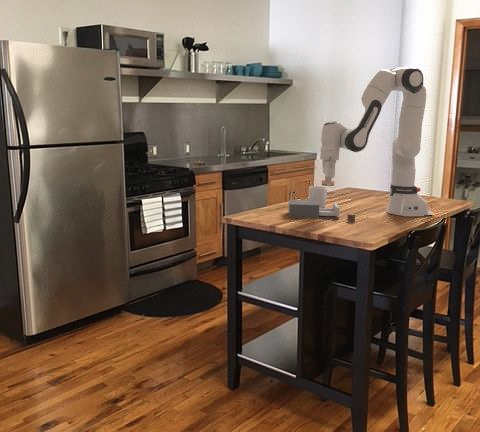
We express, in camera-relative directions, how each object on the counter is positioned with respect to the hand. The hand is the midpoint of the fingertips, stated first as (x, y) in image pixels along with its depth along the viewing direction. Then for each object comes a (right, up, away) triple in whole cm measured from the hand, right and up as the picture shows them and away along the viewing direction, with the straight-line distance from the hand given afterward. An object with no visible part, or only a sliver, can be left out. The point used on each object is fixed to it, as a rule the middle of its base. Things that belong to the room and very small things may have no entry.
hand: (327, 184), depth 259 cm
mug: (-1, -11, +23) cm, 25 cm away
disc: (0, 0, 0) cm, 0 cm away
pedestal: (+9, -18, -8) cm, 22 cm away
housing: (-7, -15, +3) cm, 17 cm away
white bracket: (-2, -14, +3) cm, 14 cm away
